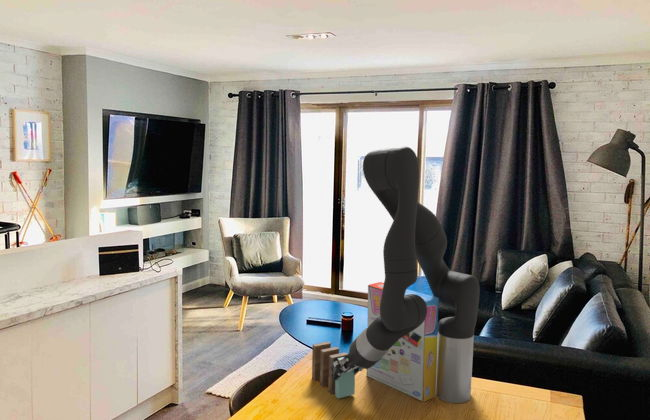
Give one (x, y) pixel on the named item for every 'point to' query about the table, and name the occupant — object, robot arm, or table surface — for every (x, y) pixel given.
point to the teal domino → (345, 384)
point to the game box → (408, 351)
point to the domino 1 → (318, 358)
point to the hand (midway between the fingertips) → (342, 374)
